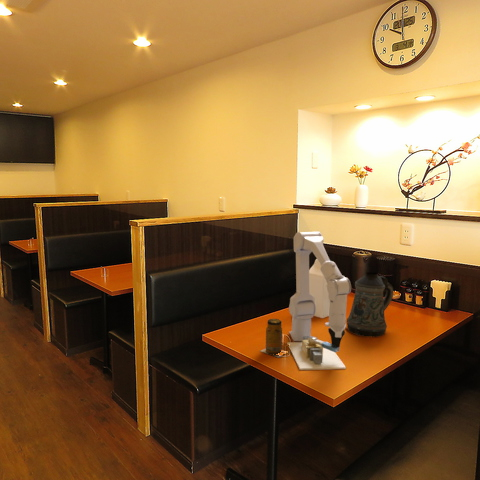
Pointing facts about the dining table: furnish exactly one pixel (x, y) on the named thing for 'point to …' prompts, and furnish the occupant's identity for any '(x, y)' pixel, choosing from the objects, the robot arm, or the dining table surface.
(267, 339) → the condiment
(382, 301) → the beer stein
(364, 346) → the dining table surface
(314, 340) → the lever
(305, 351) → the valve
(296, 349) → the board
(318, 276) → the milk
